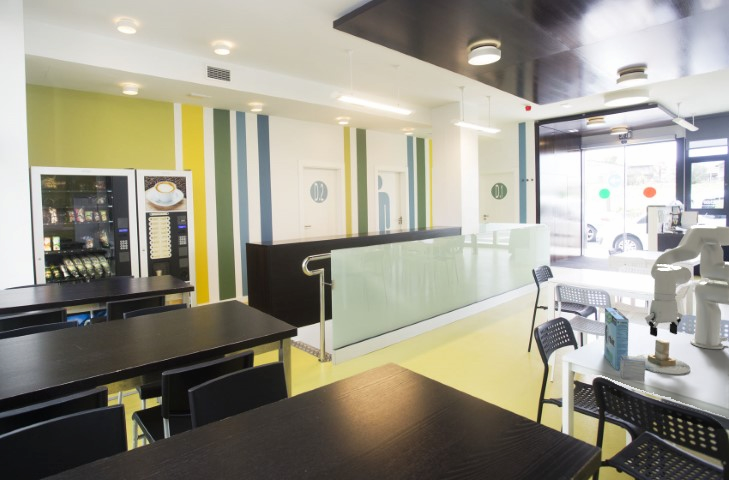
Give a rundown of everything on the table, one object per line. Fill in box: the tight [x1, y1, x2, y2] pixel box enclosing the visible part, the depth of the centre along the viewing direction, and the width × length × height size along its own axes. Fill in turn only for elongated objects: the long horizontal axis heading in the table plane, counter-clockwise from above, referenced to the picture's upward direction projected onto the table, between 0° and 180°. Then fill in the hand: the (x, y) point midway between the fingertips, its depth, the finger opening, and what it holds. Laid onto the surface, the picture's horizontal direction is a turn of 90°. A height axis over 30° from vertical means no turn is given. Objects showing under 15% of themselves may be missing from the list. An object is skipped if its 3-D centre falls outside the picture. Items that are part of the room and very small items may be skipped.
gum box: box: [603, 307, 629, 371], centre depth 186 cm, size 20×5×23 cm, turn 162°
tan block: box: [654, 339, 670, 360], centre depth 182 cm, size 4×4×10 cm
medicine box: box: [619, 355, 646, 382], centre depth 171 cm, size 8×4×9 cm, turn 71°
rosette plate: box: [635, 354, 691, 376], centre depth 183 cm, size 20×20×4 cm
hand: (663, 334), depth 182 cm, fingers open, 9 cm apart
